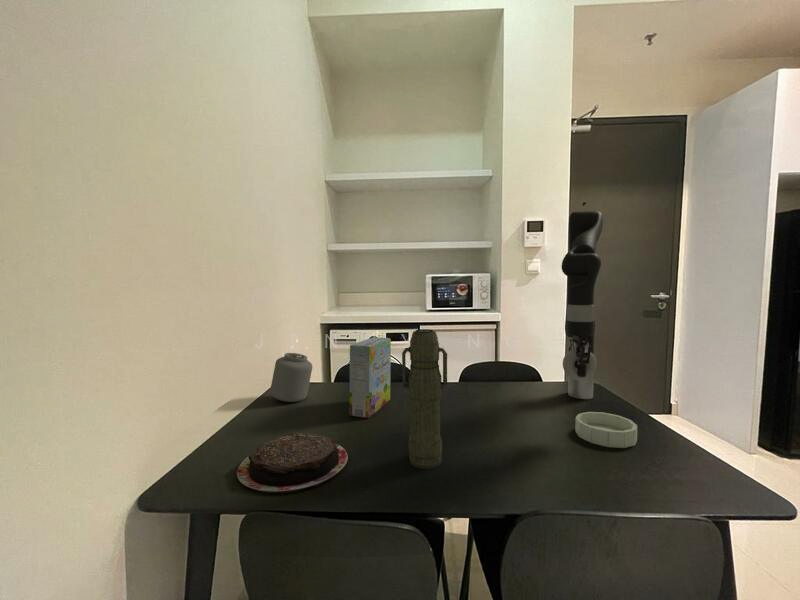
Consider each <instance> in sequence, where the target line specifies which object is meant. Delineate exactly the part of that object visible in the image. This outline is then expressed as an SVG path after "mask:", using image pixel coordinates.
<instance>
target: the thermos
mask: <svg viewBox="0 0 800 600" xmlns="http://www.w3.org/2000/svg"><path fill="white" fill-rule="evenodd" d="M440 352H441V353H442V374H441V371H440V365H439V361H440ZM407 353H409V360H410V365H409V366H410V367H409V372H408V375H407V376H406V374H407V372H406V370H407V369H406V354H407ZM401 358H402V359H401V364H402V365H401V367H402V370H401V371H402V372H401V373H402V375H401V376H402V387H403V388H406V389H407V393H408V398H409V409H410V410H409V413H410V414H409V420H410V423H409V425H410V430H409V435H408V442H407V443H408V453H409V457H408V460H409V463H410V464H411V466H414V467H415V468H419V469H435V468H438V466H440V465H441V464H442V462H443V461H442V454H443V440H442V437H441V403H440V402H441V401H440V400H441V398H442V394H443V393H442V392H443V391H442V390H443V388H446V386H448V353H447V351H446V349H444V347H440V342H439V337H438V334H437V332H436V331H435V330H433V329H430V328H429V329H426V328H423V329H415V330H414V331H413V332H412V334H411V337H410V341H409V346H408V347H405V348H404V349H403V351H402V352H401ZM406 377H407V378H406ZM406 379H407V380H406Z"/></svg>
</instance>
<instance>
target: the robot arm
mask: <svg viewBox="0 0 800 600" xmlns="http://www.w3.org/2000/svg"><path fill="white" fill-rule="evenodd" d="M602 213H603V212H600V211H599V210H581V211H572V212H571V213H570V215H569V217H568V218H569V219H568V252H567V253H566V254H565V255H564V257H563V259H562V261H561V272H562V273H563V274H564V275H565V276H567V294H566V295H567V300H566V301H567V302H566V312H565V320H564V322H565V323H564V331H565V335H566V337H568V338H570V339H569V347H568V352H569V351H570V350H572V349H575V354H576V356H577V360H576V361H575V364H574V365H575V368H576V369H577V375H578V376H579V377H585V376H586V365H587V364H589V360H590V353H592V354H593V355H594V356H595V352H594V351H595V350H594V348H595V347H594V345H595V331H596V322H595V321H596V320H595V307H594V293H595V286H596V281H597V278H598V275H599V272H600V270H601V265H602V260H601V257H600V256H599V255H598V254H597V253H596V248H597V243H598V241H599V239H600V237H601V234H602V231H603V225H604V217H603V214H602ZM578 352H579V353H580V354H579V353H578ZM583 357H584V360H582V358H583ZM567 376H568V375H567ZM567 379H568V380H567V381H568V385H567V386H568V387H567V393H568V396H569V397H571V398H574V399H580V400H591V399H593V398H594V374H593V375H591V376H590V377H589V378H587V379H584V380H575V379H573V378H571V377H569V376H568V378H567Z"/></svg>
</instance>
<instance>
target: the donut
mask: <svg viewBox="0 0 800 600" xmlns="http://www.w3.org/2000/svg"><path fill="white" fill-rule="evenodd" d="M578 353H579V352H578ZM579 354H580V353H579ZM576 360H577V356H576V354H575V349H572V350H570V351H569V350H568V352H567V353H566V354H565V355H564V357H563V359H562V369H563V371H564V373H565V374H566V375H567V376H569V377H571V378H573V379H575V380H584V379H587V378H589V377H590V376H591V375H593V376H594V373H595V372H596V370H597V358H596V356H595V354H594V355H593V354H592V353H590V360H589V364H587V365H586V376H585V377H579V376H578V375H577V369H576V368H575V365H574V364H575V361H576ZM582 360H584V357H583V358H582Z"/></svg>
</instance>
